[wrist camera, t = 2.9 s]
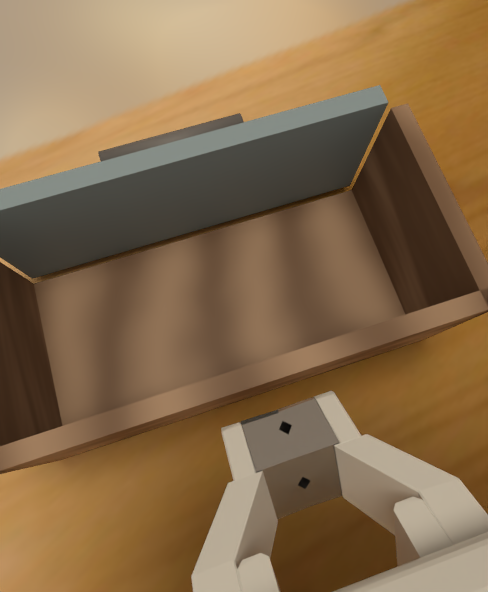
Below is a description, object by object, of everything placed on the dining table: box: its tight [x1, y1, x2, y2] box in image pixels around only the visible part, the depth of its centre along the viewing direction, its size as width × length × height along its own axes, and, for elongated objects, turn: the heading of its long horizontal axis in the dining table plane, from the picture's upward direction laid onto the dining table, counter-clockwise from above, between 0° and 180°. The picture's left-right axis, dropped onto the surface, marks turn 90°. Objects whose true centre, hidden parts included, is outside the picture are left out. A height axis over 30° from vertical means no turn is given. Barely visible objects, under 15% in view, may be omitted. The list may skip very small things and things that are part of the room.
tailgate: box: [0, 85, 388, 279], centre depth 28 cm, size 24×2×9 cm, turn 108°
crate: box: [0, 104, 488, 474], centre depth 26 cm, size 26×12×10 cm, turn 108°
